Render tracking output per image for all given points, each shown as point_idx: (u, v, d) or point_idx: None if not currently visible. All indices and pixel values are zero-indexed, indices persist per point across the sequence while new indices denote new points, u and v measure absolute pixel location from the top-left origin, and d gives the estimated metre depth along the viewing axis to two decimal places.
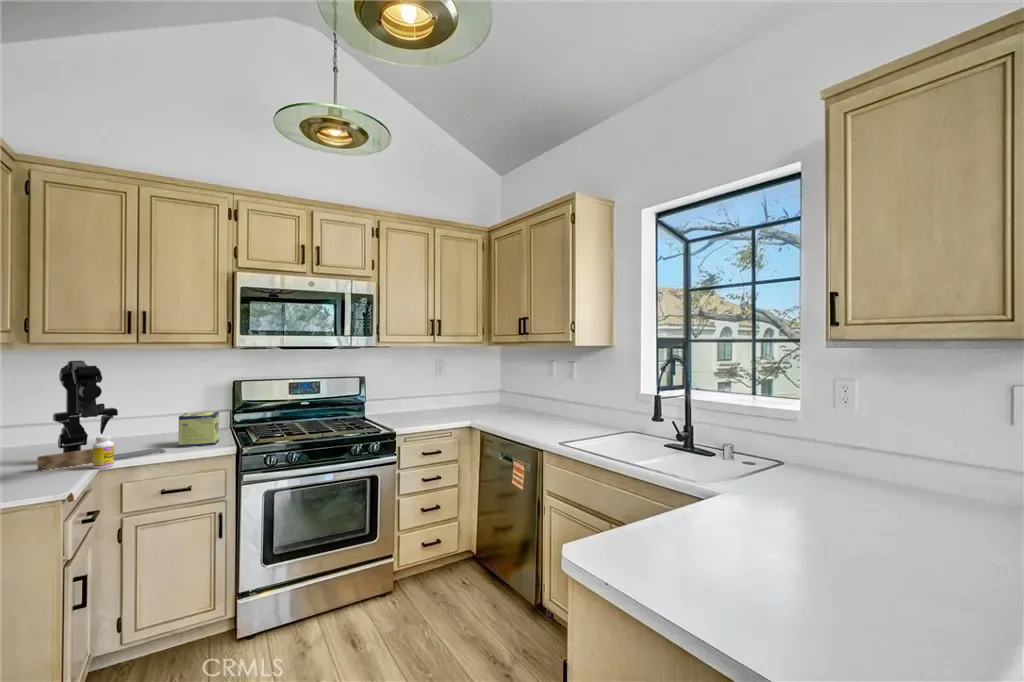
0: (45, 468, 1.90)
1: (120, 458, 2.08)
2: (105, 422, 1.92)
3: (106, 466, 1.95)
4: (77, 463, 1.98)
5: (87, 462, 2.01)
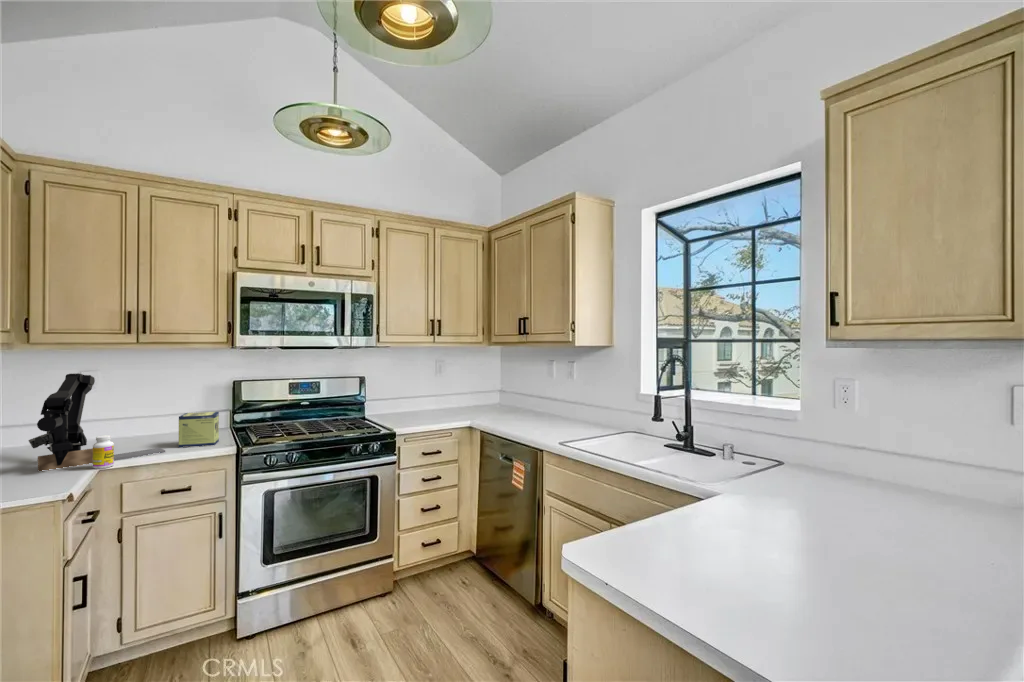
0: (45, 468, 1.91)
1: (120, 458, 2.08)
2: None
3: (106, 466, 1.95)
4: (77, 463, 1.98)
5: (87, 462, 2.01)
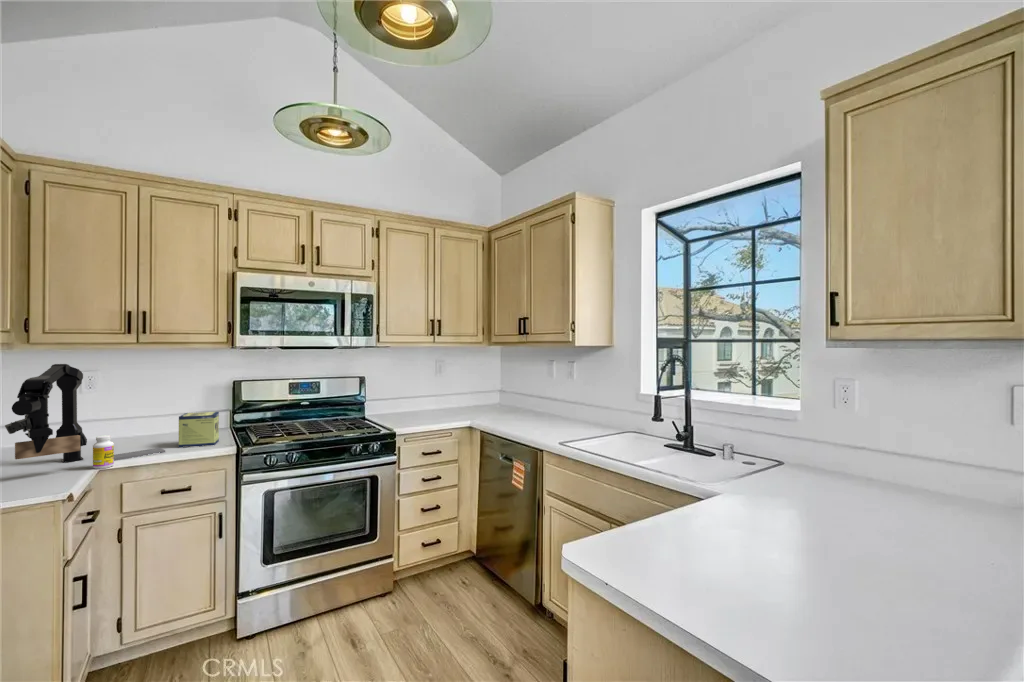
0: (23, 455, 1.77)
1: (120, 458, 2.08)
2: (33, 441, 1.78)
3: (106, 466, 1.95)
4: (58, 450, 1.85)
5: (69, 449, 1.87)
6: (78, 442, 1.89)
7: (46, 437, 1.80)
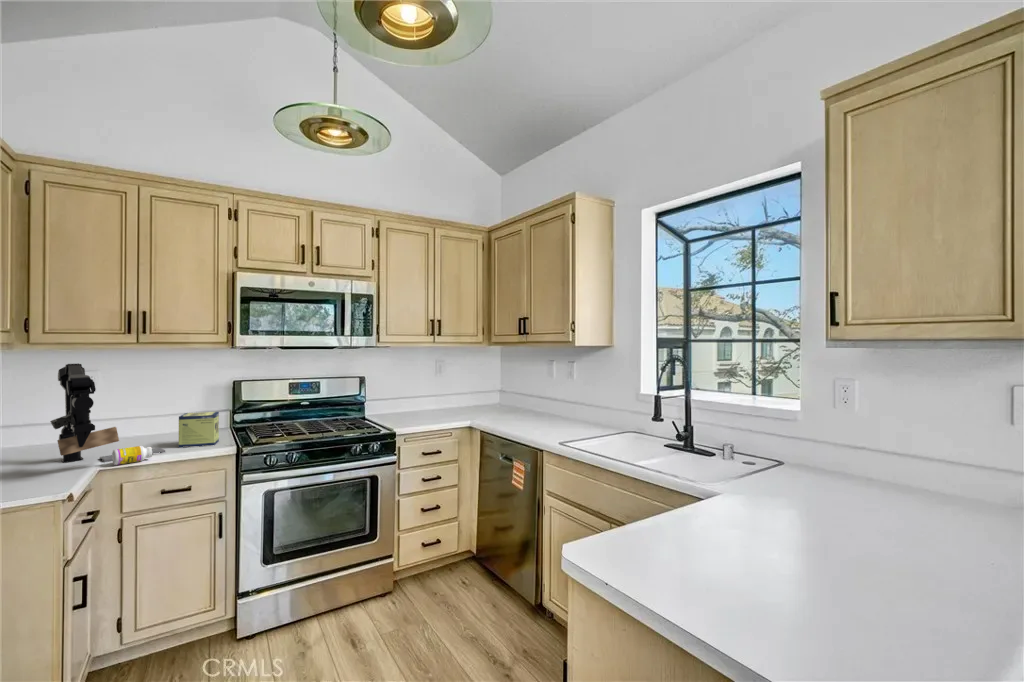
0: (67, 451, 1.87)
1: None
2: (76, 436, 1.88)
3: (117, 460, 1.97)
4: (99, 443, 1.94)
5: (109, 441, 1.97)
6: (115, 433, 1.98)
7: (88, 432, 1.90)
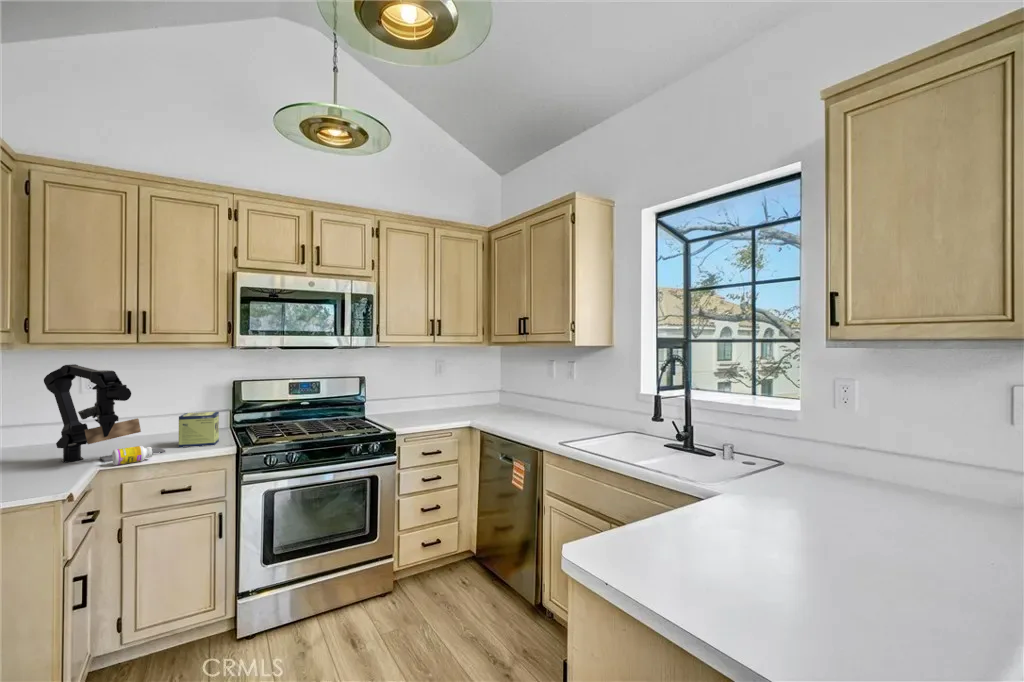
0: (93, 440, 2.00)
1: None
2: None
3: (117, 460, 1.97)
4: (122, 433, 2.07)
5: (131, 432, 2.09)
6: (138, 424, 2.11)
7: (112, 423, 2.02)
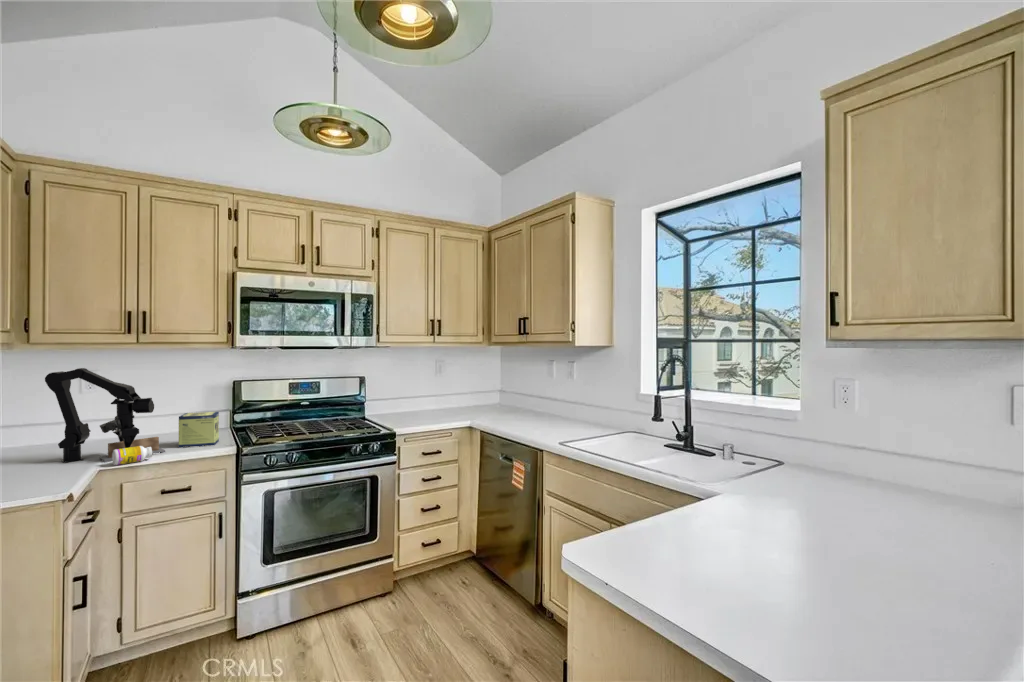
0: None
1: None
2: (123, 439, 2.08)
3: (117, 460, 1.97)
4: None
5: None
6: (157, 443, 2.21)
7: (134, 436, 2.10)
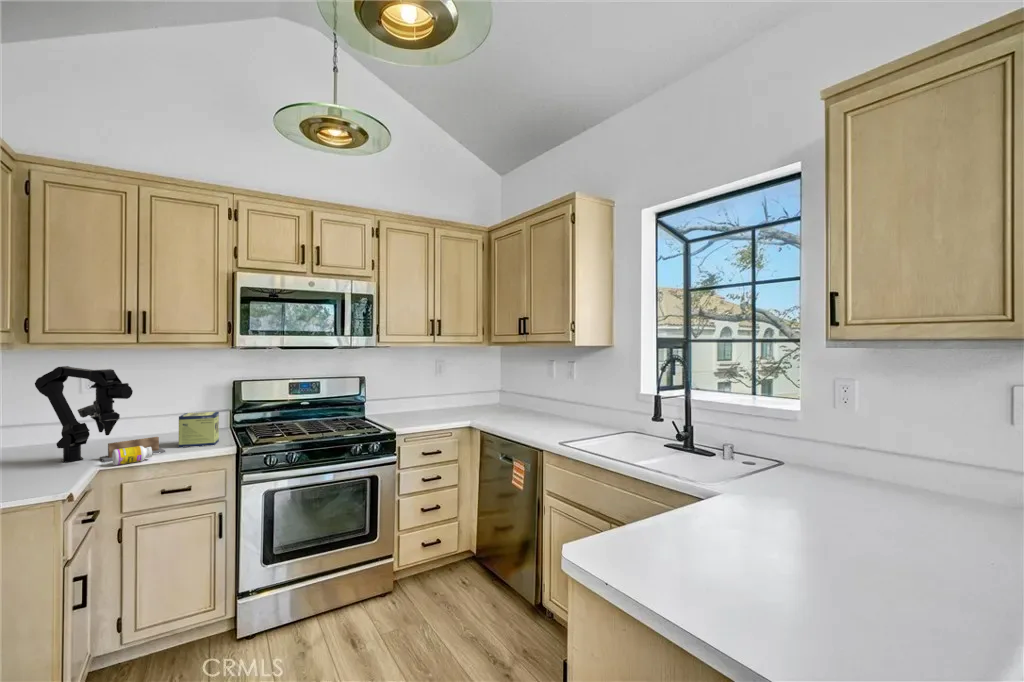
0: None
1: None
2: (103, 425, 2.02)
3: (117, 460, 1.97)
4: None
5: None
6: (157, 443, 2.21)
7: (114, 422, 2.04)
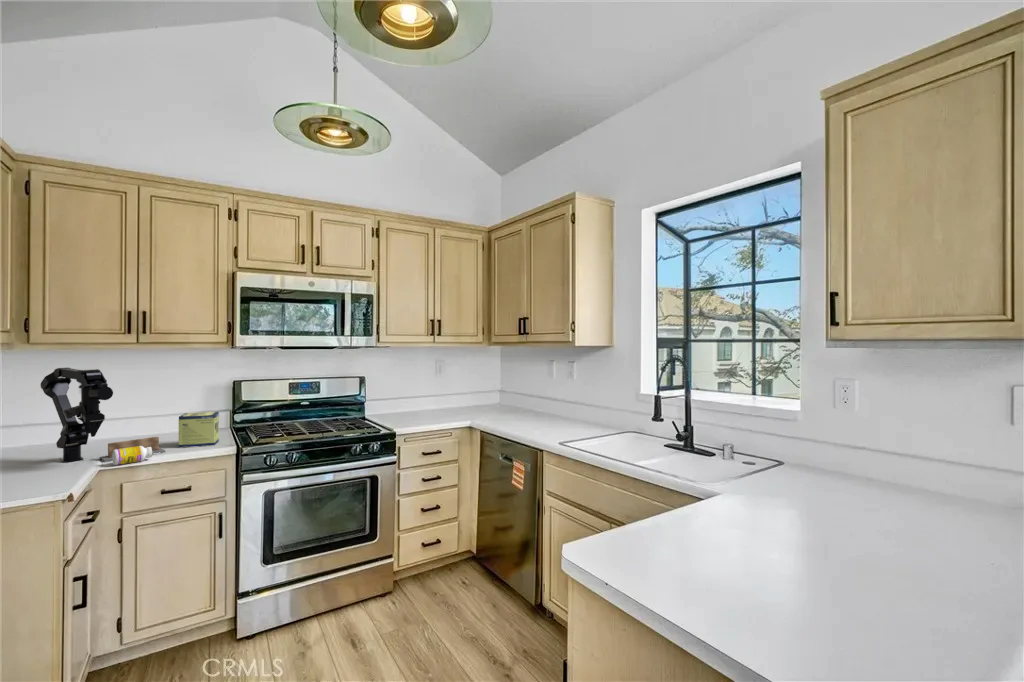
0: None
1: None
2: (89, 426, 1.97)
3: (117, 460, 1.97)
4: None
5: None
6: (157, 443, 2.21)
7: (100, 423, 2.00)
